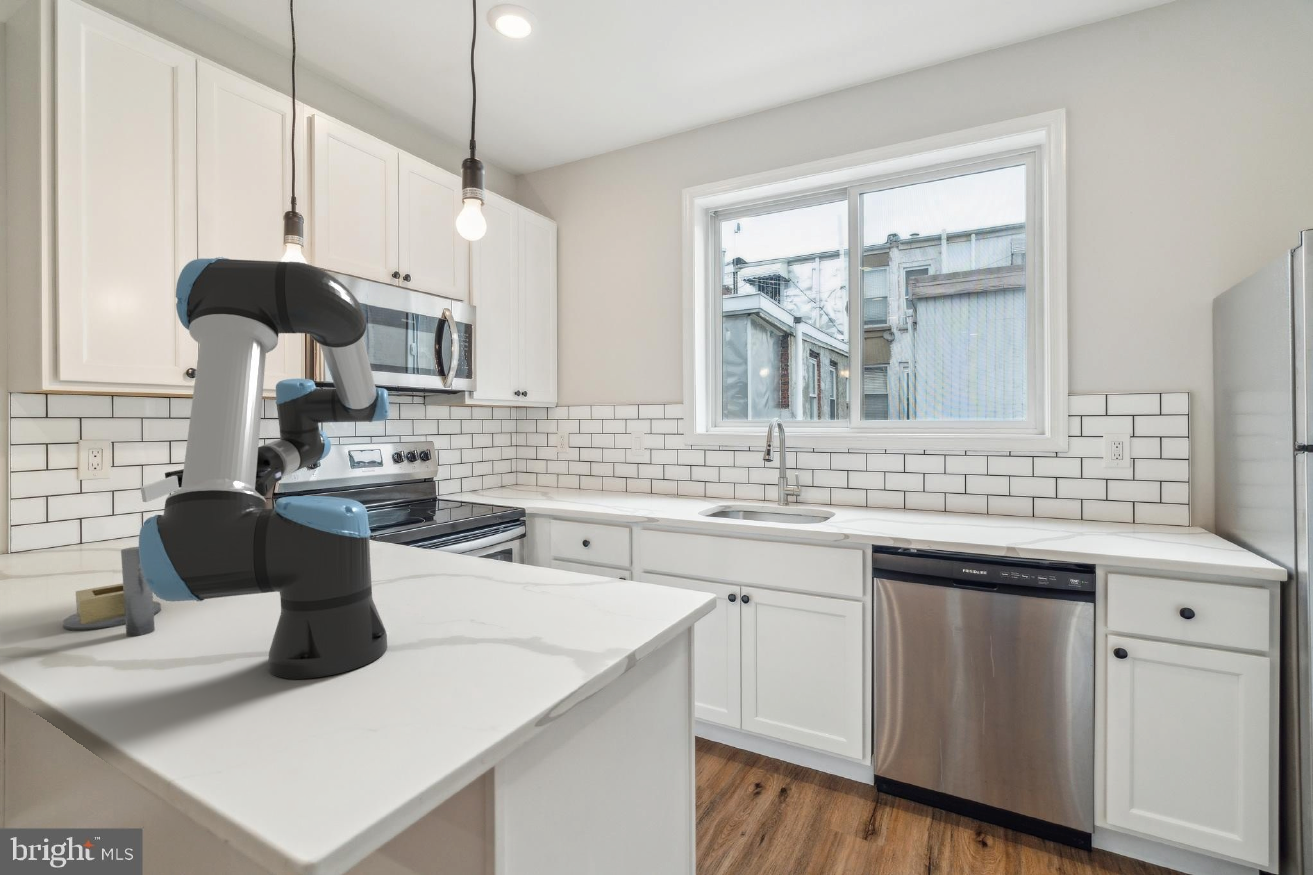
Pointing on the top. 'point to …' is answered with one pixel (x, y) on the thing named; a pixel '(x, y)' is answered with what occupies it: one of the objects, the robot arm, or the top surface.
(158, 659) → the top surface
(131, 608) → the pin
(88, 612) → the socket
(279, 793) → the top surface
